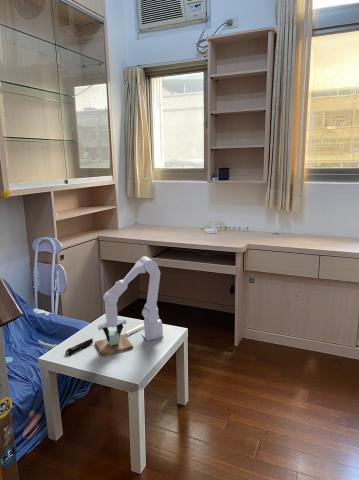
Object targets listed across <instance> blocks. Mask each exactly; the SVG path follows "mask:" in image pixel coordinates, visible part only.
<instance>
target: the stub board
mask: <svg viewBox="0 0 359 480" xmlns="http://www.w3.org/2000/svg"><path fill="white" fill-rule="evenodd" d="M127 337H128V336H126V335H125V334H120V343H119V344H115V345H111V346H110V344H109V343H108V341H107V338H104V339H101V340H96V341H94V345H95V347H96V349H97V351H98V352H99V354H100V355H101V358H103V357H106V356H111V355H114V354H118V353H121V352H125V351H128V350H133V349H134V346H133V343H131V341H130V340H129V339H128V338H127Z"/></svg>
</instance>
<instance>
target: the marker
mask: <svg viewBox="0 0 359 480" xmlns="http://www.w3.org/2000/svg"><path fill="white" fill-rule="evenodd" d="M142 329H144V323H142V324H140V325H137V326H136V327H134V328H132V329H130V330H128V331H125V332H124V335H125V336H126V337H129V336H131V335H133V334H134V333H136V331H137V332H139V331H140V330H142ZM132 333H133V334H132ZM130 334H131V335H130Z"/></svg>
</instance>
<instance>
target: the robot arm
mask: <svg viewBox="0 0 359 480" xmlns="http://www.w3.org/2000/svg"><path fill="white" fill-rule="evenodd" d="M146 272H147V273H148V274H149V279H148V280H149V282H148V289H147V296H146V303H145V304H144V307H143V309H142V310H141V311H142V312H141V316H143V318H144V320H143V324H144V328H143V329H144V330H143V331H144V333H142V337H143V338H144V339H145V340H146V341H147V342H149V341H152V340H157V339H161V338H163V337H164V334H163V333H164V332H163V331H164V330H163V321H162V319H160V316H159V308H158V304H157V303H158V296H159V295H158V294H159V288H160V281H161V280H160V279H161V270H160V268H159V265H158V263H157V262H156V261H155V260H154V259H151V258H150V257H148V256H146V255H143V256H142V257H139V260H137V261H136V262H135V264H134V266H133V267H132V268H131V269H130V271H129V272H127V274H125V275H126V276H125V277H123V279H119V280H118V281H115V284H114V285H113V286H112V287H111V288H109V289H108V290H107V291H106V292H105V293H104V294H103V296H102V300H103V301H104V306H105V307H104V310H105V322H103V323H101V324H98V325H97V330H98V331H101V330H102V331H103V333H104V335H105V339H107V341H108V342H109V332H110V330H109V328H116V330H117V332H118V333H119V337H120V335H122V331H123V329H124V325H126V324H127V319H126V318H125V319H124V318H122V319H118V307H117V303H118V301H119V298H120V297H121V296H122V294H123V293H125V291H126V290H127V289H128V284H129V283H130V282H131V281H133V280H134V279H135V278H136V277H137V276H138V275H139V274H146Z"/></svg>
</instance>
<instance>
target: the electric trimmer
mask: <svg viewBox="0 0 359 480" xmlns="http://www.w3.org/2000/svg"><path fill="white" fill-rule="evenodd" d="M93 342H94V338H90V339H87V340H85V341H83V342H81V343H79V344H77V345H74V346H72V347H69V348H67V349H66V350H65V353H64V354H65V355H66V356H67V357H70V356H71V355H72V354H73V353H74V354H75V353H77V352H79V351H80V350H83V349H86V348H87V347H89V346H91V345H92V344H93Z"/></svg>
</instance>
